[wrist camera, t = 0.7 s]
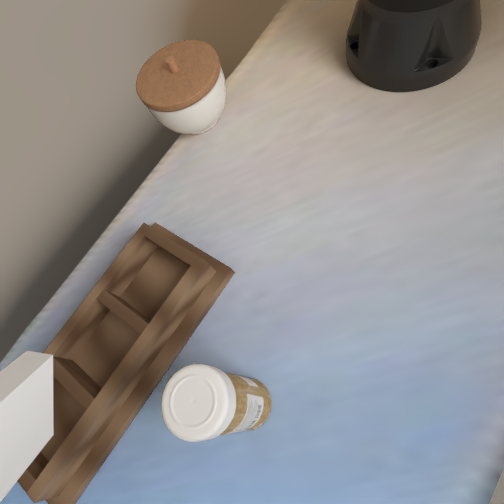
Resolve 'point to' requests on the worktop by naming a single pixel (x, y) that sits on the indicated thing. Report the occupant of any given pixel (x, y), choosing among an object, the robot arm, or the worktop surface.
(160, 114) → the lidded jar
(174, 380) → the spice bottle
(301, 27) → the worktop surface
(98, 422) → the wooden compartment tray
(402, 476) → the worktop surface
